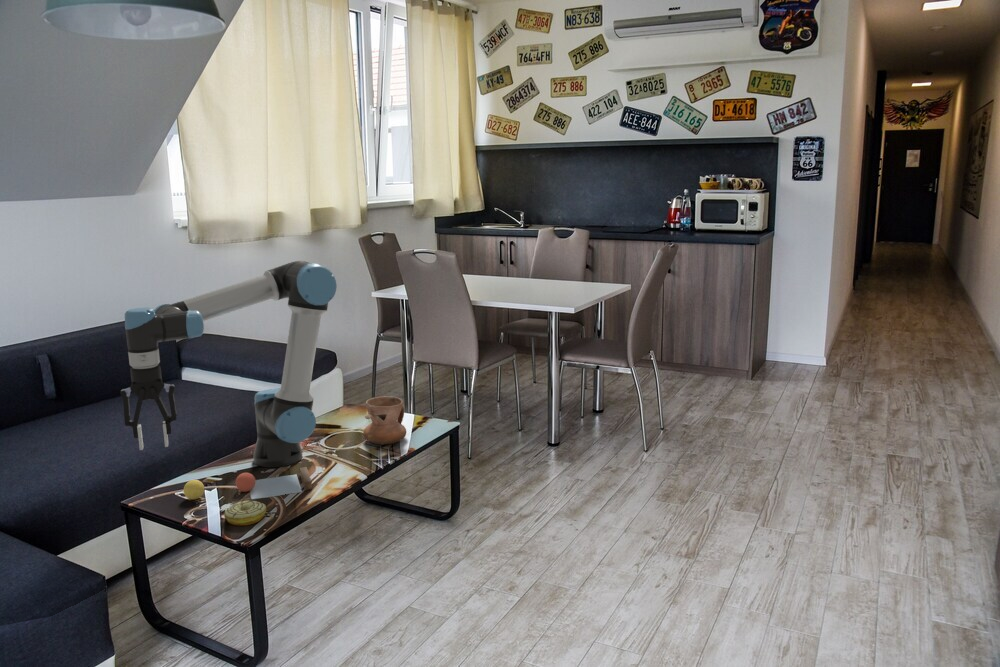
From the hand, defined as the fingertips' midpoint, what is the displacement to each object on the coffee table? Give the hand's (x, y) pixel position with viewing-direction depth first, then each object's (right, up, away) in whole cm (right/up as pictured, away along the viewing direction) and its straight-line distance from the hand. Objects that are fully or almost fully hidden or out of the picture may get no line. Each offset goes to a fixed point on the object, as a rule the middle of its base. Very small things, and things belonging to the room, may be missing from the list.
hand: (154, 446), depth 218 cm
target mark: (+29, -14, +14) cm, 35 cm away
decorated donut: (+28, -19, -6) cm, 34 cm away
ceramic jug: (+57, -5, +52) cm, 77 cm away
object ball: (+22, -12, +11) cm, 27 cm away
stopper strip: (+38, -13, +17) cm, 43 cm away
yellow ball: (+9, -13, +6) cm, 17 cm away
